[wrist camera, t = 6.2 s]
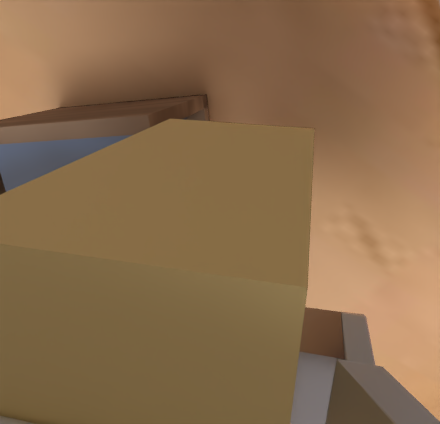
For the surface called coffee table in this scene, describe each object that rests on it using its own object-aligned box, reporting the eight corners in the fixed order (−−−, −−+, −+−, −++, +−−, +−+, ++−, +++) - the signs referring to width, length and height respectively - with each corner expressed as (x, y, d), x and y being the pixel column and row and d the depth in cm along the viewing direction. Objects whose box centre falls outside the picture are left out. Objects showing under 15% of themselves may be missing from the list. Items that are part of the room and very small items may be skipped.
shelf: (58, 108, 29) (-59, 132, 20) (206, 94, 27) (148, 114, 18) (124, 393, 38) (63, 500, 29) (240, 404, 35) (213, 526, 26)
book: (173, 347, 14) (27, 643, 7) (169, 118, 12) (-84, 232, 4) (286, 367, 14) (251, 723, 6) (314, 128, 11) (307, 288, 3)
